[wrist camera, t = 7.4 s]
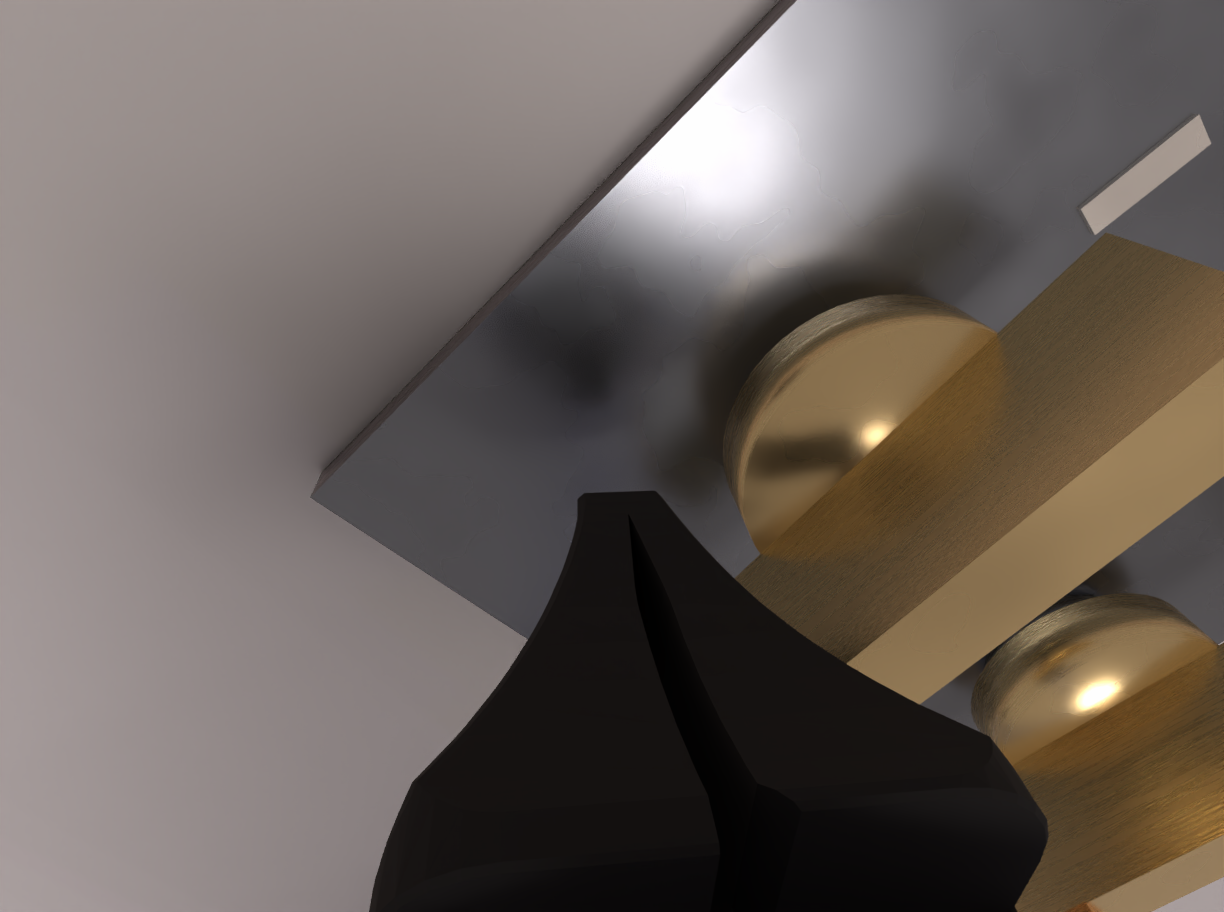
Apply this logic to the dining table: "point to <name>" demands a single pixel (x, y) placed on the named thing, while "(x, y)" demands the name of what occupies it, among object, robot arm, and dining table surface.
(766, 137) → the plate
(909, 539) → the brass lever handle
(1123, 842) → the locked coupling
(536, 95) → the dining table surface
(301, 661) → the dining table surface
